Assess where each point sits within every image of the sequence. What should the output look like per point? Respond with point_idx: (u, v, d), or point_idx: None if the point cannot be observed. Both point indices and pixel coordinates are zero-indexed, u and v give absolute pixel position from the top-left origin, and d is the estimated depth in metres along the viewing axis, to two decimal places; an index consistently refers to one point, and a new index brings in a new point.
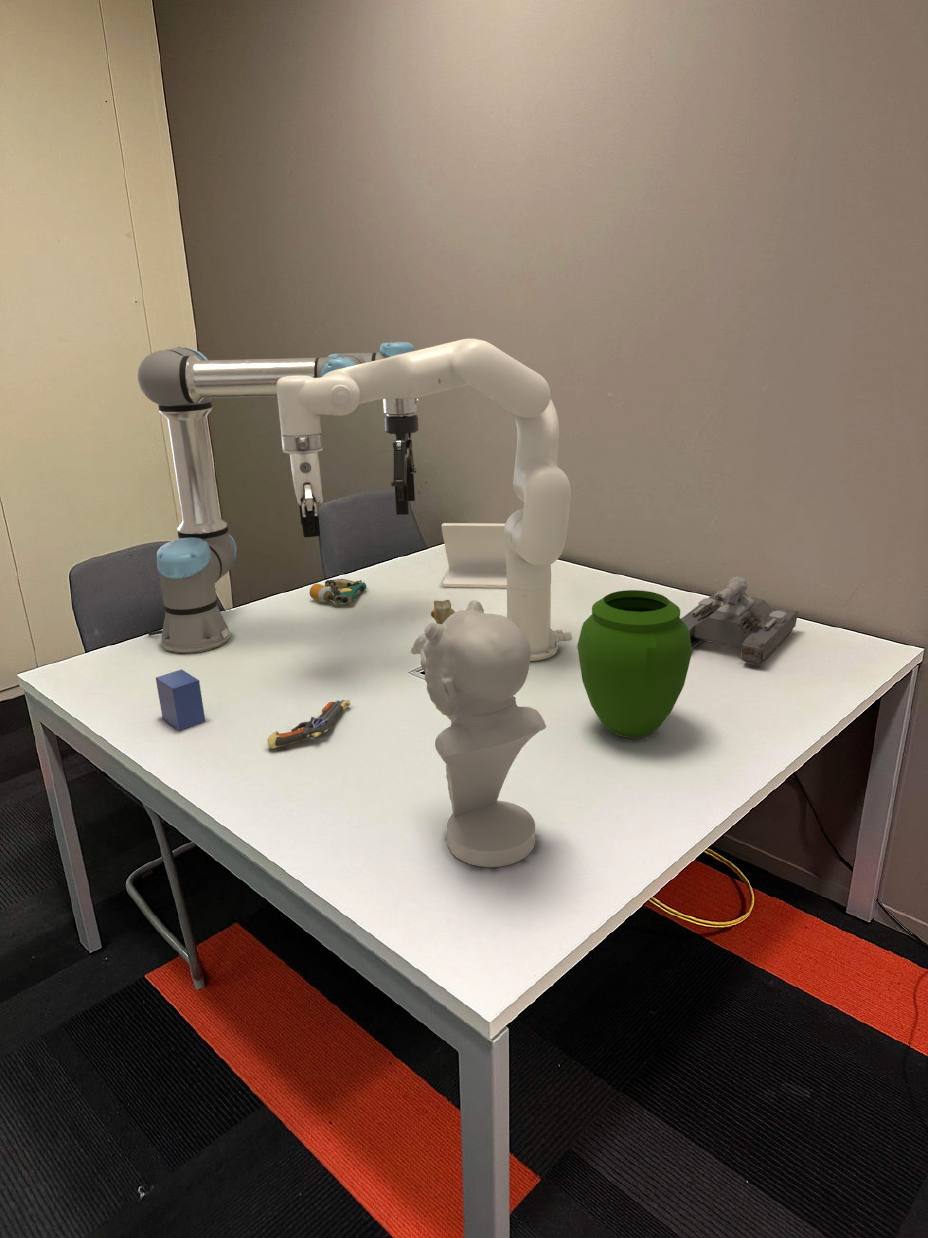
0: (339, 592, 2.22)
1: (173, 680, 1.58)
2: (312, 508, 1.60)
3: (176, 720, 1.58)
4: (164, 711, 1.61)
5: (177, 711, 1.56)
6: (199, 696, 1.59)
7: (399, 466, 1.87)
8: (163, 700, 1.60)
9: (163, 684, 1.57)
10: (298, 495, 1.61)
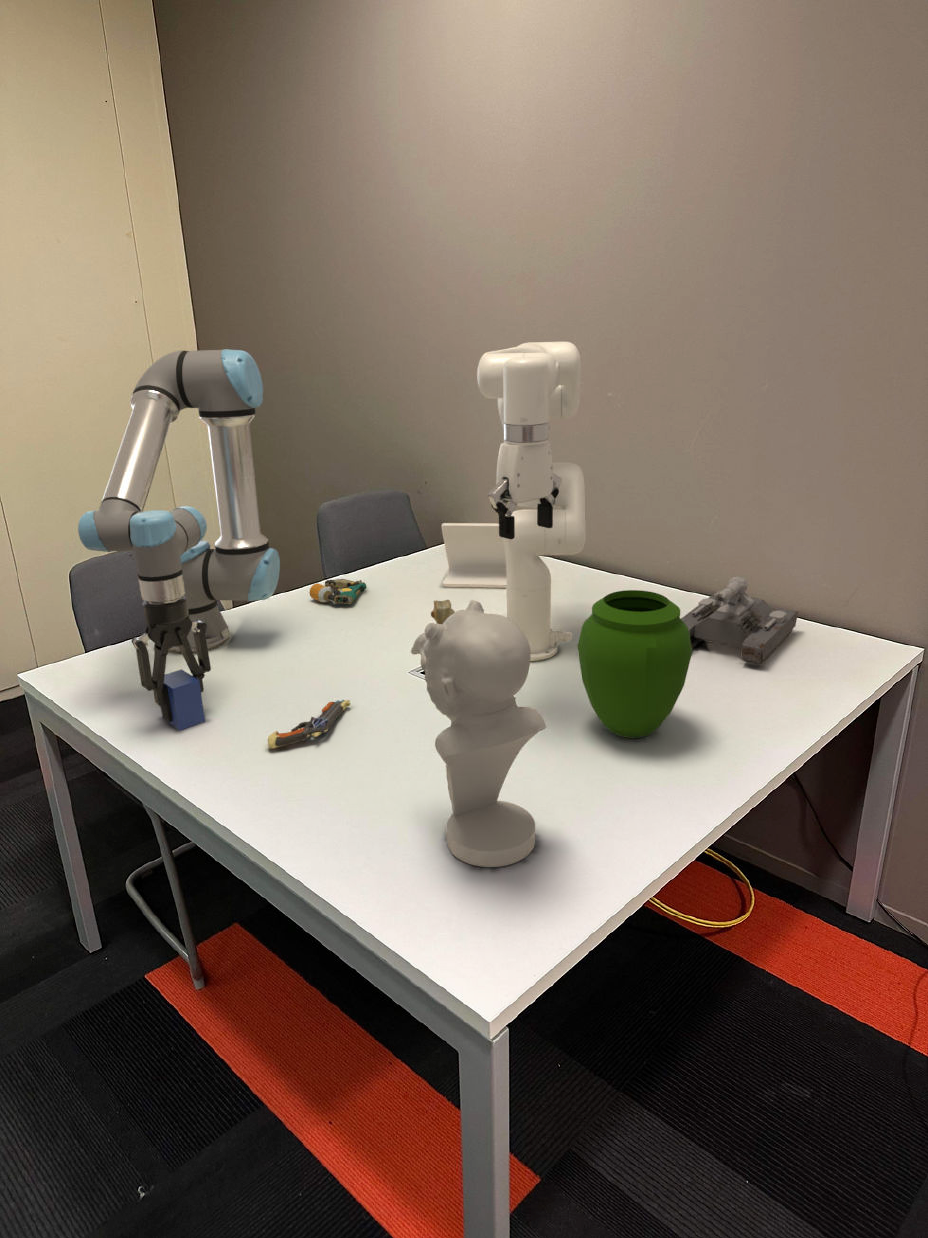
0: (339, 592, 2.22)
1: (173, 680, 1.58)
2: None
3: (176, 720, 1.58)
4: None
5: (177, 711, 1.56)
6: (199, 696, 1.59)
7: None
8: None
9: None
10: (552, 483, 1.49)
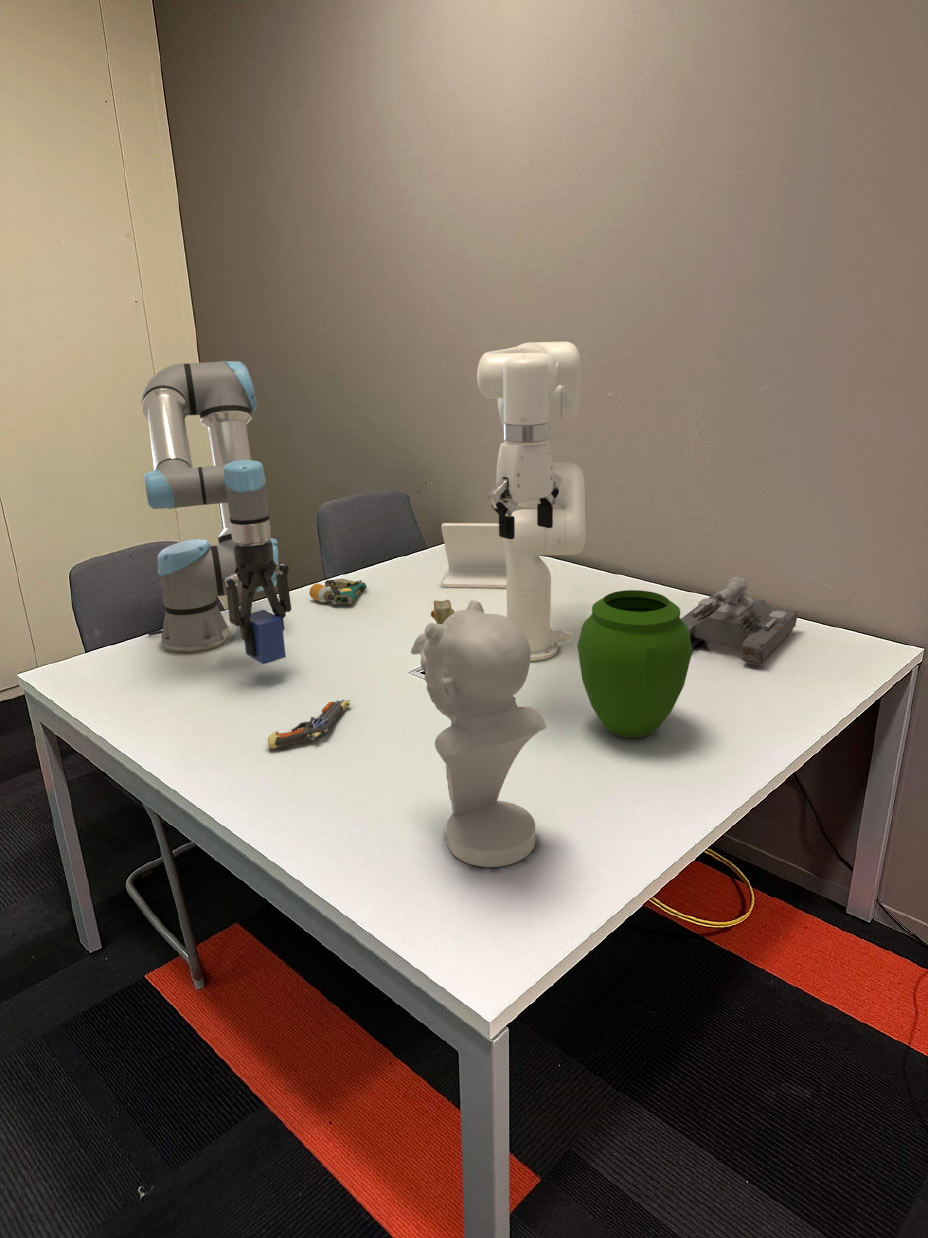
0: (339, 592, 2.22)
1: (258, 618, 1.72)
2: None
3: (260, 655, 1.72)
4: None
5: (261, 646, 1.70)
6: (281, 633, 1.73)
7: None
8: None
9: None
10: (552, 483, 1.49)
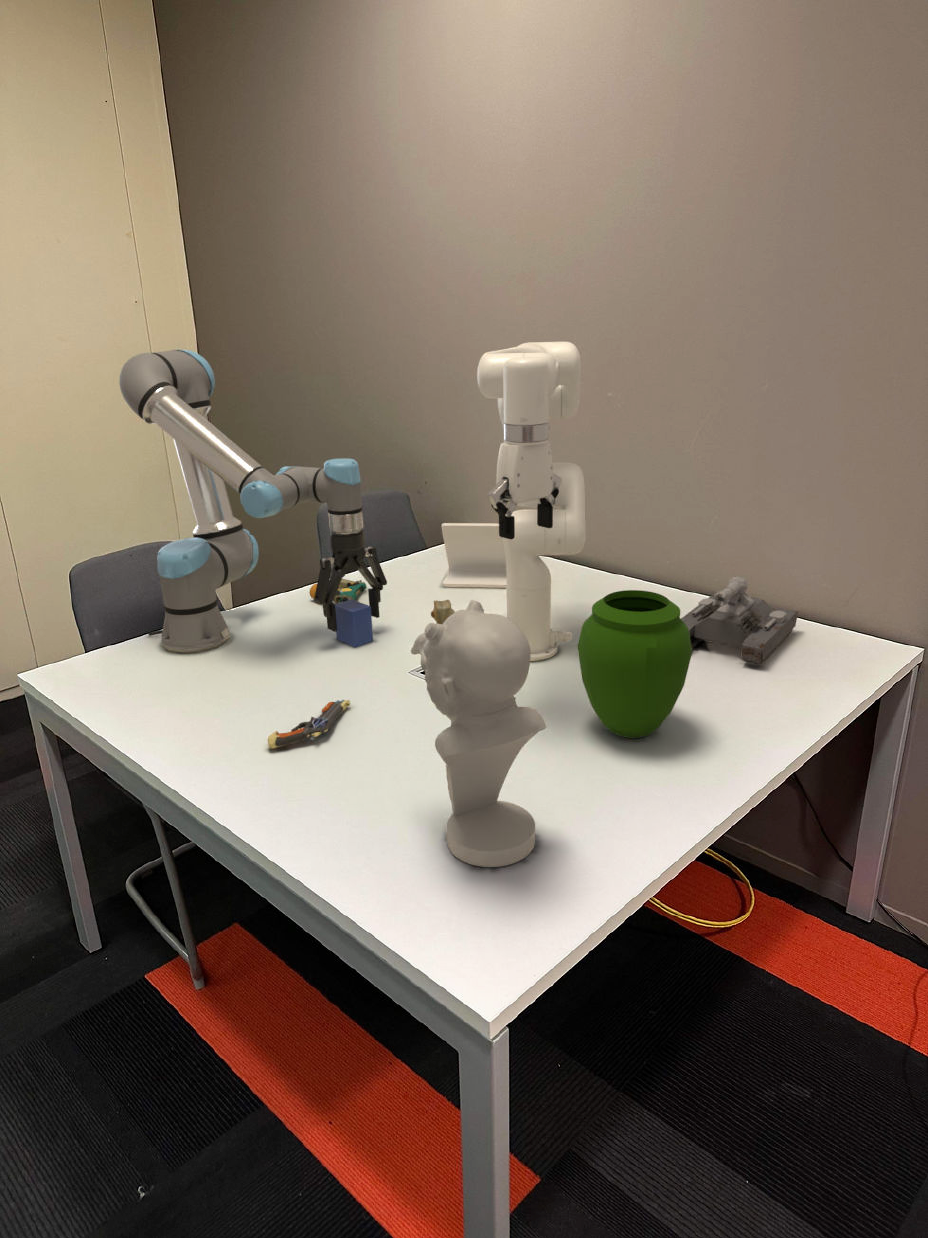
0: (339, 592, 2.22)
1: (349, 606, 1.93)
2: None
3: (352, 639, 1.93)
4: (340, 632, 1.96)
5: (354, 631, 1.92)
6: (370, 619, 1.94)
7: None
8: (340, 623, 1.95)
9: (342, 609, 1.93)
10: (552, 483, 1.49)
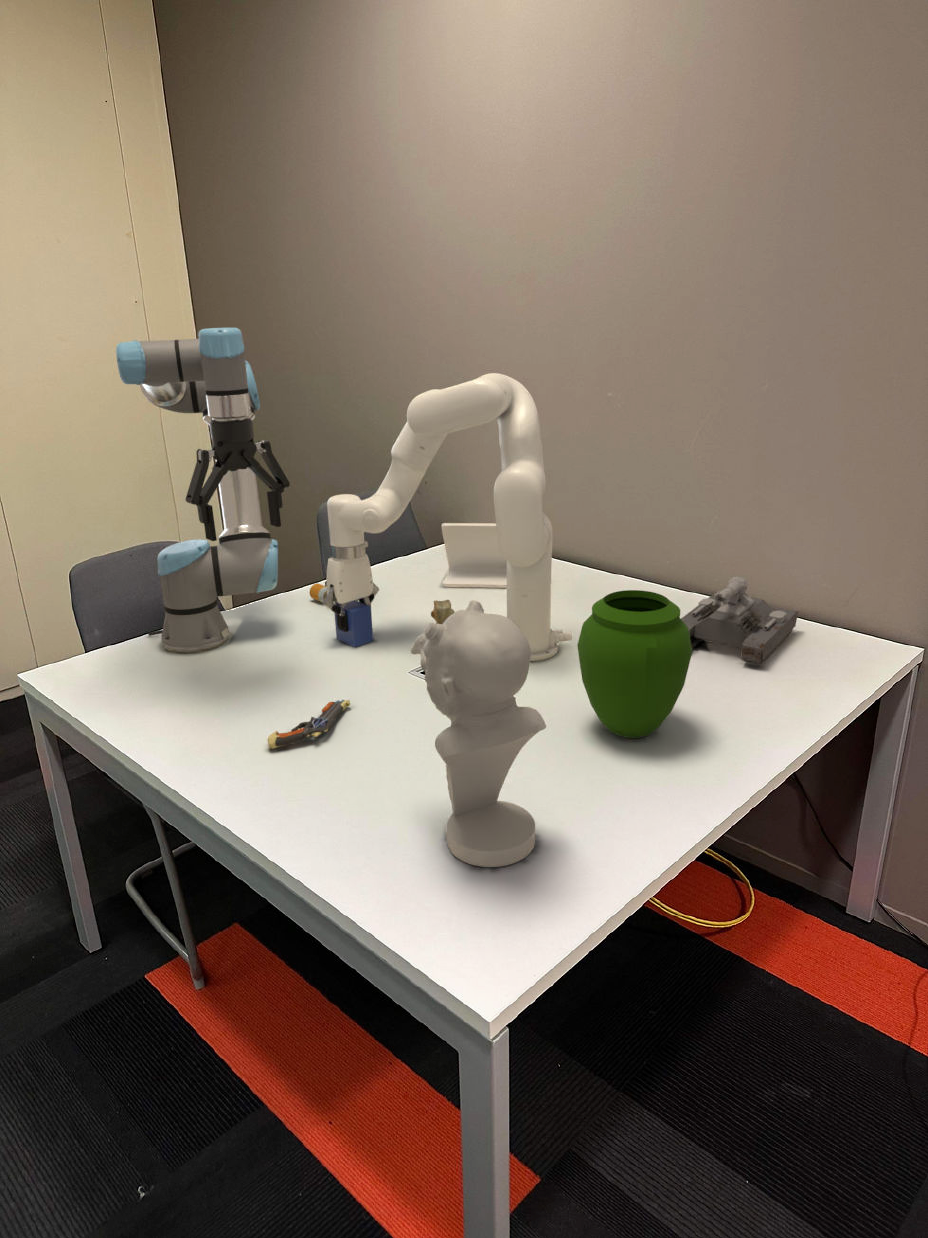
0: None
1: (350, 606, 1.93)
2: None
3: (352, 639, 1.93)
4: (340, 632, 1.96)
5: (354, 630, 1.92)
6: (370, 619, 1.94)
7: None
8: None
9: None
10: (372, 585, 1.95)
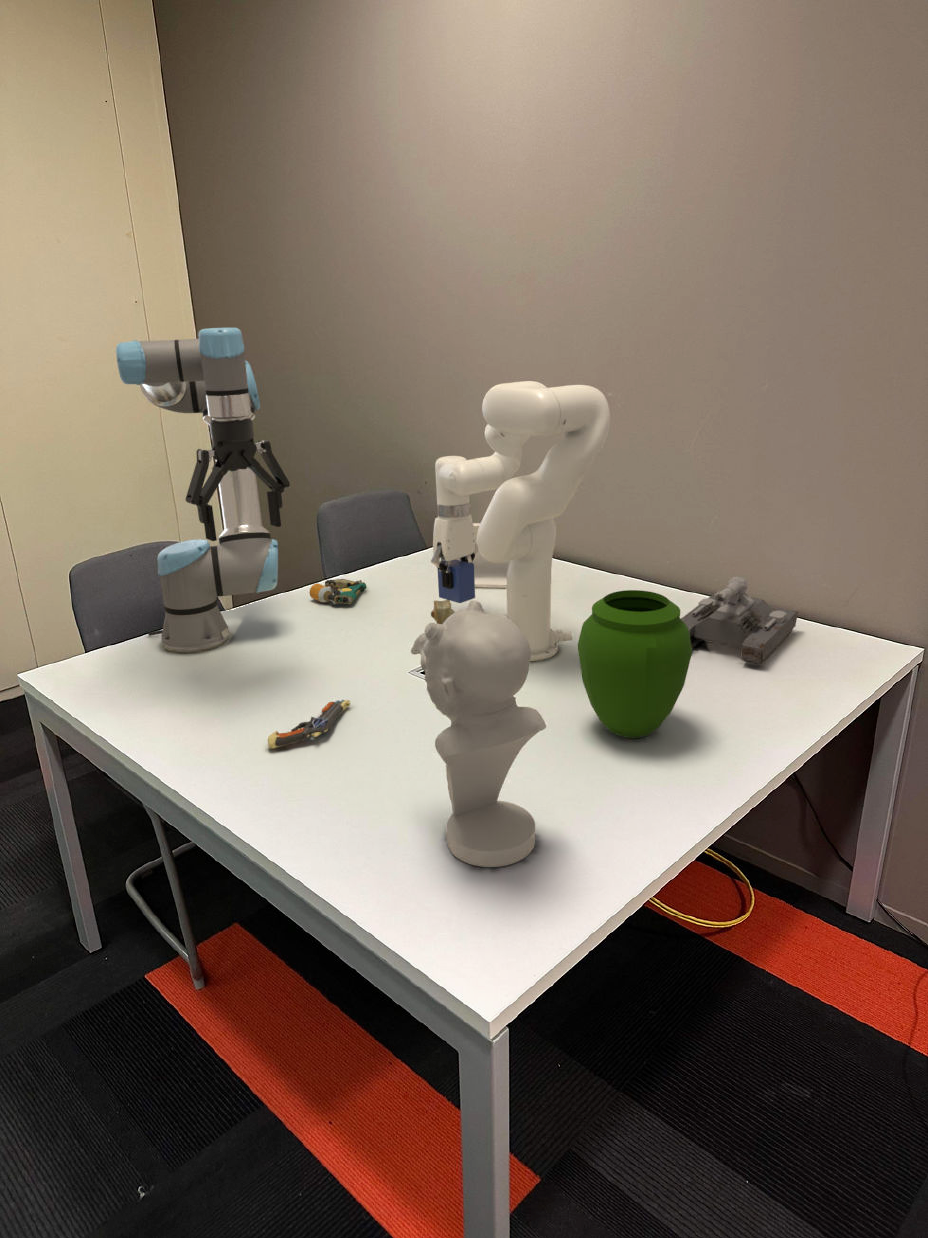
0: (339, 592, 2.22)
1: (453, 564, 2.02)
2: None
3: (457, 595, 2.02)
4: (443, 590, 2.05)
5: (459, 587, 2.00)
6: (473, 577, 2.03)
7: None
8: None
9: None
10: (474, 544, 2.03)
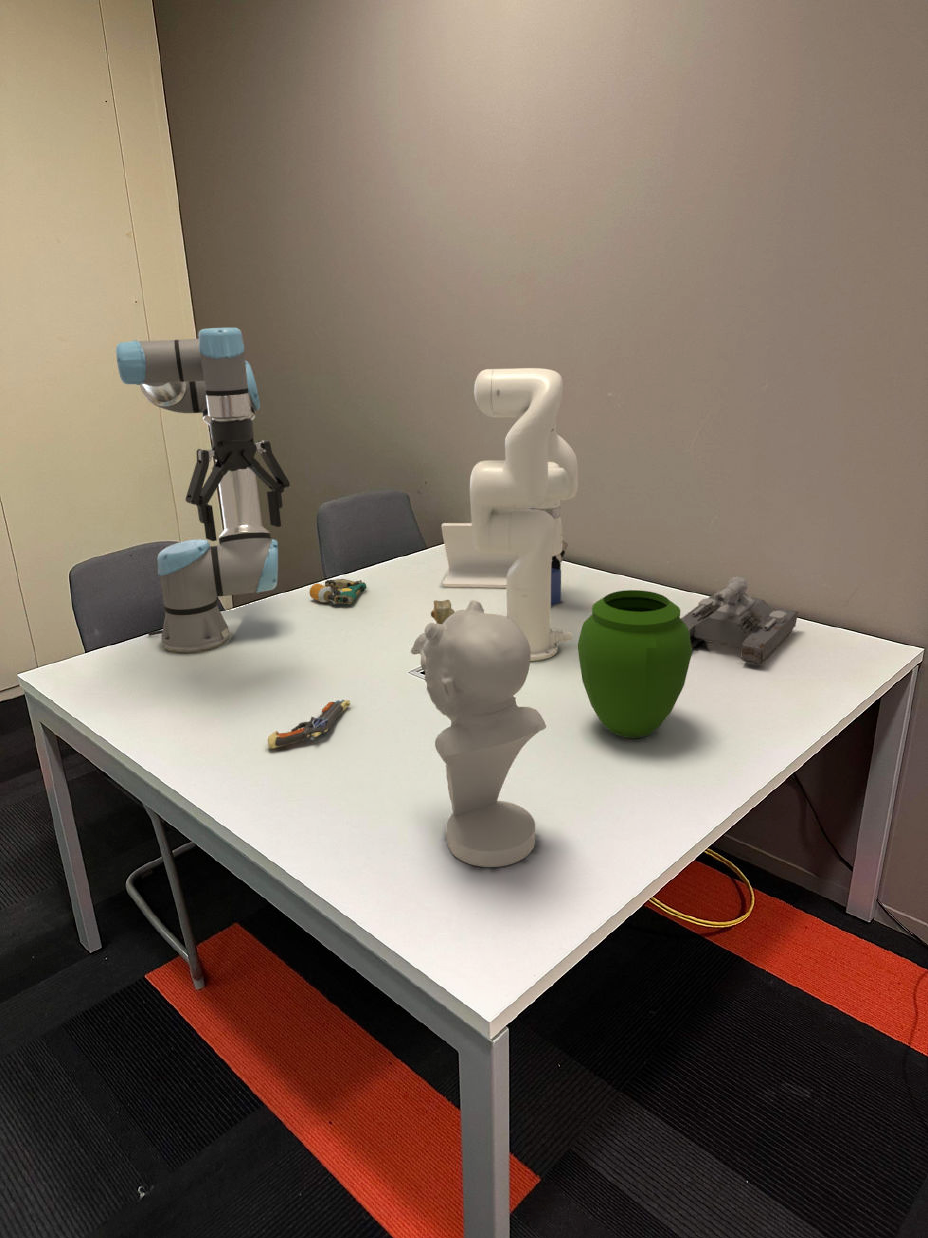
0: (339, 592, 2.22)
1: None
2: None
3: None
4: None
5: None
6: (559, 582, 2.15)
7: None
8: None
9: None
10: None
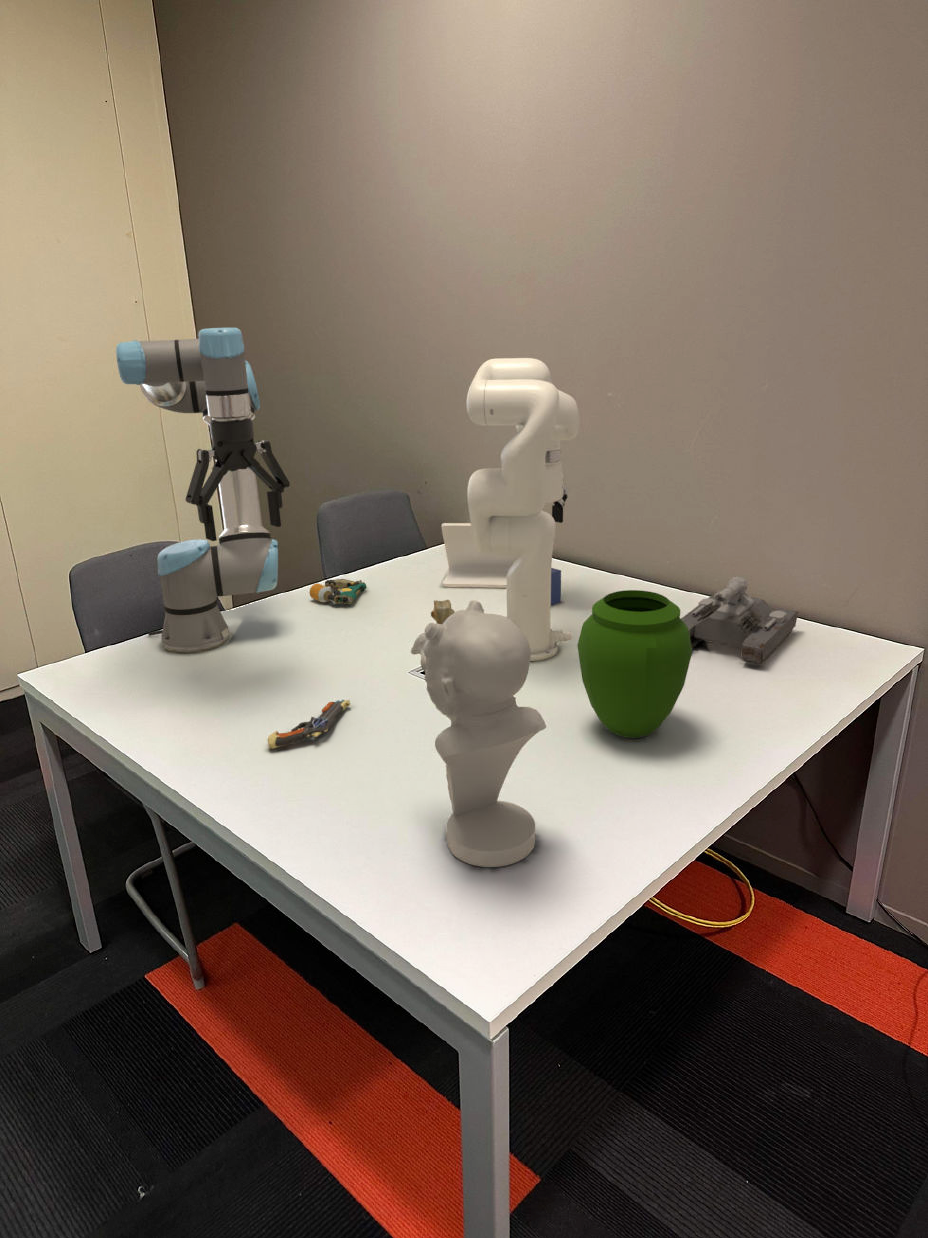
0: (339, 592, 2.22)
1: None
2: None
3: None
4: None
5: None
6: (559, 582, 2.15)
7: None
8: None
9: None
10: (563, 490, 2.11)
